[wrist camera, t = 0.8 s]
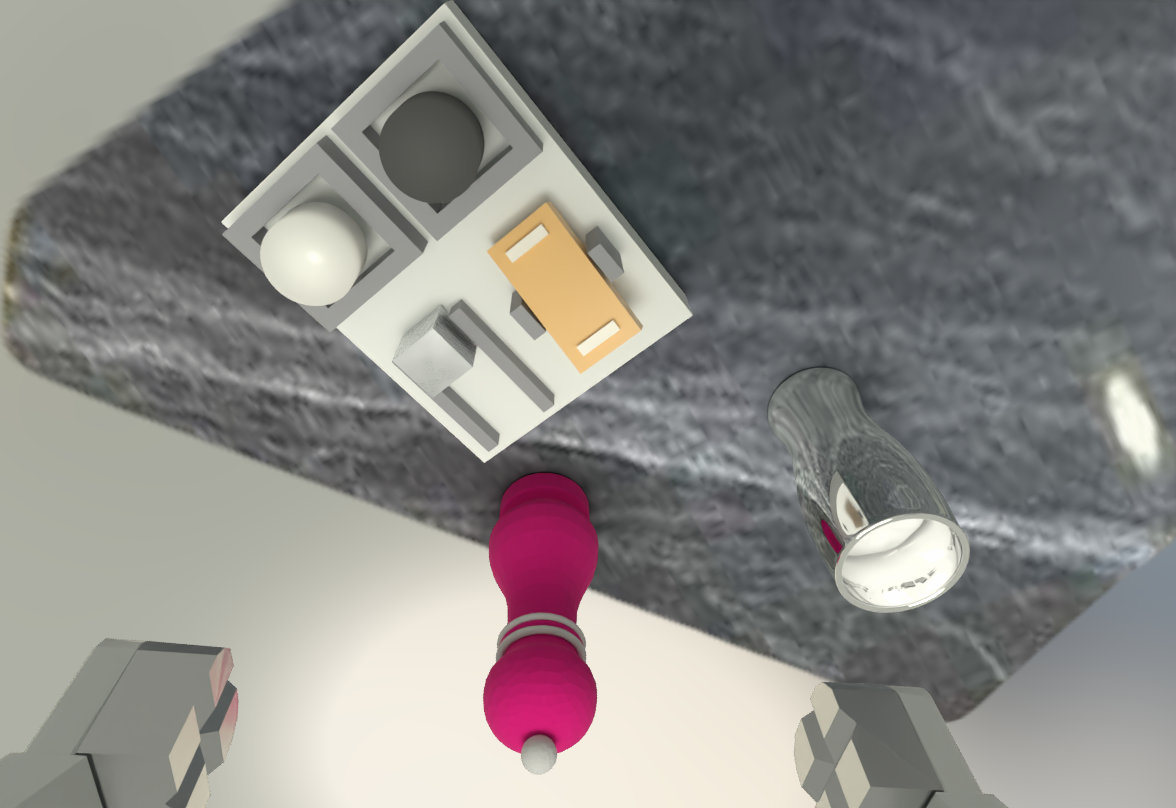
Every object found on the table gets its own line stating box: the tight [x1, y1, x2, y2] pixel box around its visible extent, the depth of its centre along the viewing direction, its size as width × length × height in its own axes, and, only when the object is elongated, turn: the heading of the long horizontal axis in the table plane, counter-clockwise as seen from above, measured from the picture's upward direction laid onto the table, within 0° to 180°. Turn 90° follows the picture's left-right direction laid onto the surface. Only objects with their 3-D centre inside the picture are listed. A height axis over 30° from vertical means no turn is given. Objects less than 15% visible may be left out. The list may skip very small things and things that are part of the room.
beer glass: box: [768, 367, 970, 613], centre depth 43 cm, size 7×7×15 cm
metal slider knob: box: [393, 305, 477, 398], centre depth 41 cm, size 3×3×3 cm
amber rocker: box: [487, 202, 643, 374], centre depth 39 cm, size 4×8×2 cm, turn 39°
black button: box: [379, 91, 484, 203], centre depth 34 cm, size 4×4×2 cm
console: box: [222, 0, 693, 463], centre depth 41 cm, size 16×20×6 cm
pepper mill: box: [483, 473, 598, 774], centre depth 44 cm, size 7×7×20 cm
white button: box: [260, 202, 367, 306], centre depth 36 cm, size 4×4×2 cm
